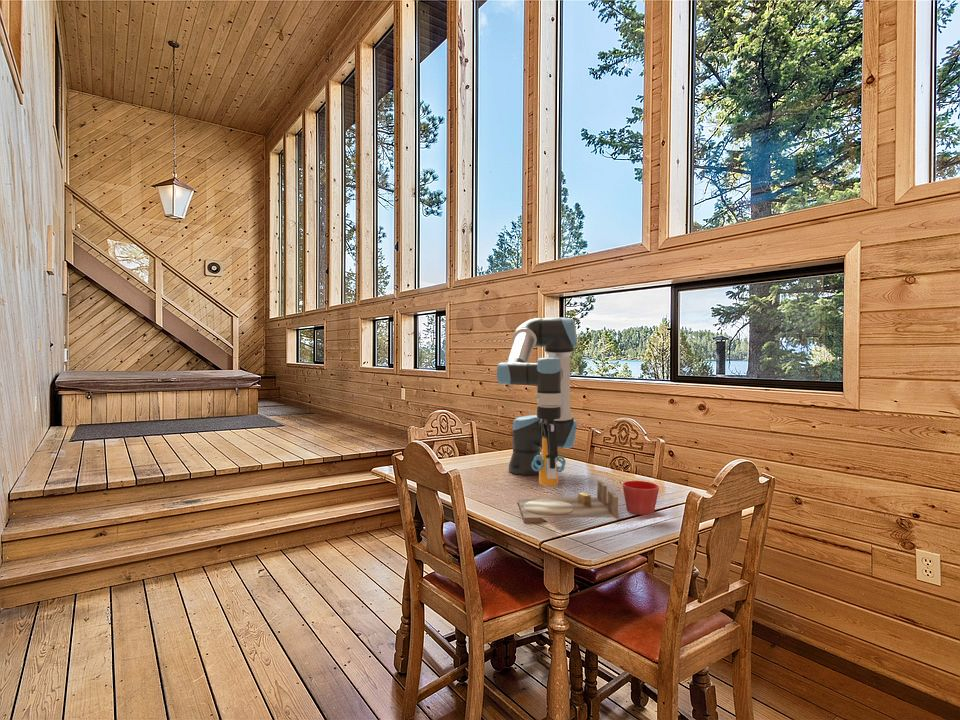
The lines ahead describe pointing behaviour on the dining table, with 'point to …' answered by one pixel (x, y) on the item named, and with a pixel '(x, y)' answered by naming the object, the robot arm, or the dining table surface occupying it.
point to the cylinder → (543, 466)
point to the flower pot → (640, 496)
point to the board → (569, 506)
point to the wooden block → (584, 498)
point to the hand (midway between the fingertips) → (548, 473)
